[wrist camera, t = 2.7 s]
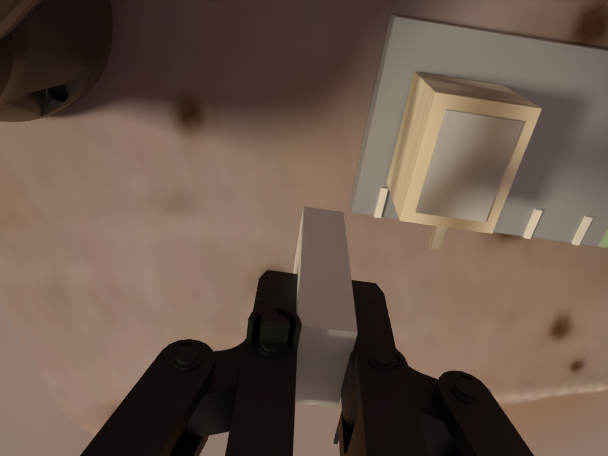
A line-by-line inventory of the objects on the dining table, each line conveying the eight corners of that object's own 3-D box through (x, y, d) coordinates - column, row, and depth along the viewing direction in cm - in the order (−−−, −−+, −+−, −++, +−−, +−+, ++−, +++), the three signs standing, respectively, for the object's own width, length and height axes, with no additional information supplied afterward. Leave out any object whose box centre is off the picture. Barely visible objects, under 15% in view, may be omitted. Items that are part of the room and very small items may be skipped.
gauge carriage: (380, 206, 35) (392, 249, 30) (414, 71, 30) (436, 93, 25) (456, 217, 35) (482, 261, 30) (502, 85, 30) (543, 109, 25)
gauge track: (350, 201, 37) (352, 214, 35) (390, 14, 31) (395, 17, 29) (709, 251, 39) (730, 266, 37) (822, 84, 32) (856, 91, 30)
